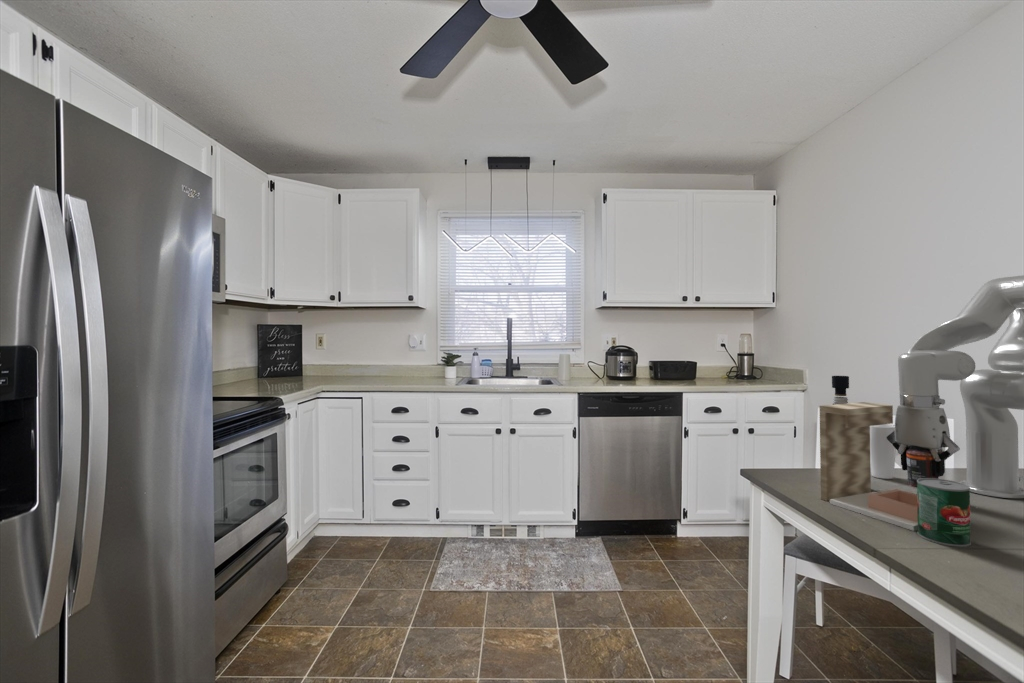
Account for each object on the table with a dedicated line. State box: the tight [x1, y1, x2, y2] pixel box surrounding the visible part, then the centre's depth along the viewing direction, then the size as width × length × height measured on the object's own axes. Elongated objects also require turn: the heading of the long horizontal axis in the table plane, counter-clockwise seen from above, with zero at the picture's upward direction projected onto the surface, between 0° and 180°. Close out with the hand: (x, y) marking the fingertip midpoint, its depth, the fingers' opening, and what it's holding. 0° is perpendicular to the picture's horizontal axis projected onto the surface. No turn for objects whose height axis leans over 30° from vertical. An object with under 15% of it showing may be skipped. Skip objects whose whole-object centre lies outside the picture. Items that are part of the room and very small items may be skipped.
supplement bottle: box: [906, 445, 940, 489], centre depth 119 cm, size 6×6×11 cm
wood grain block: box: [819, 401, 894, 502], centre depth 118 cm, size 16×7×24 cm, turn 110°
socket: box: [829, 488, 918, 532], centre depth 109 cm, size 16×18×4 cm
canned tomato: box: [916, 478, 972, 548], centre depth 94 cm, size 8×8×11 cm
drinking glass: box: [870, 424, 897, 480], centre depth 136 cm, size 7×7×15 cm
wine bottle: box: [831, 375, 850, 405], centre depth 129 cm, size 6×6×30 cm
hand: (922, 472), depth 119 cm, fingers closed on supplement bottle, 6 cm apart
